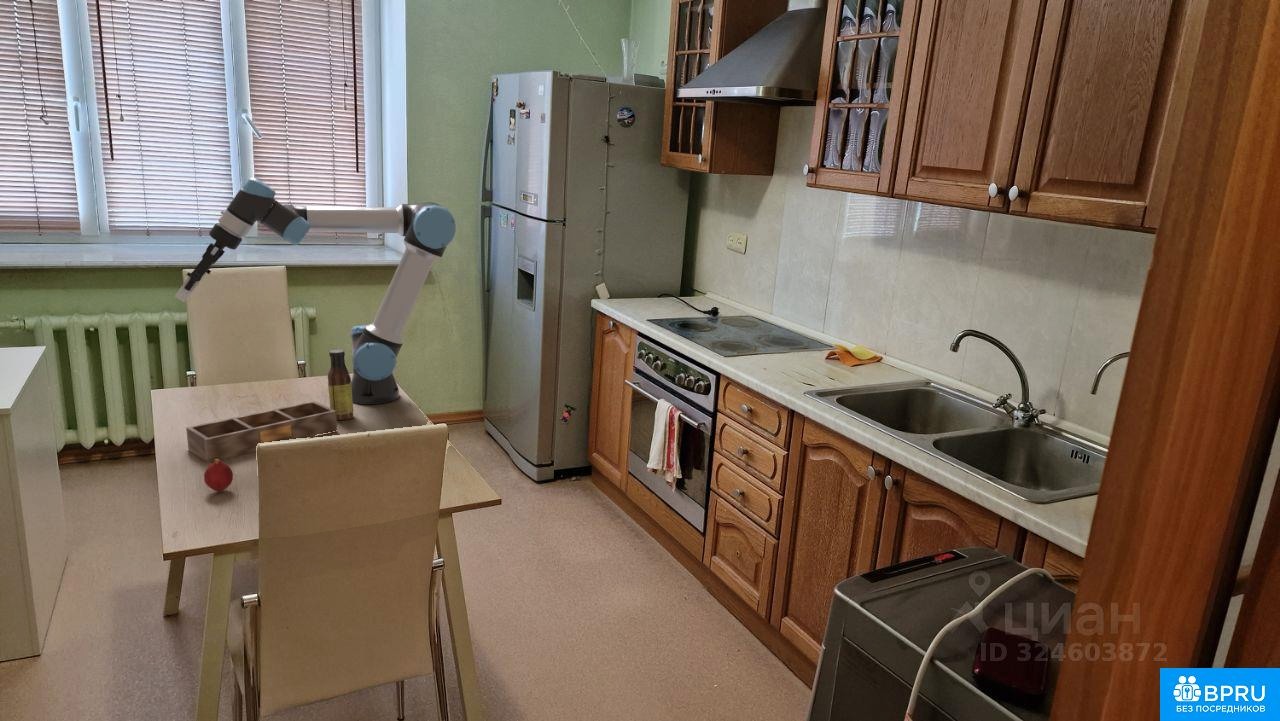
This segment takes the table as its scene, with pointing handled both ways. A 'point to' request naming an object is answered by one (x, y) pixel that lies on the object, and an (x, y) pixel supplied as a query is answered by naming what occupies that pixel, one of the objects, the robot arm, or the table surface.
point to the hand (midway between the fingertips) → (183, 294)
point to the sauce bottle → (340, 386)
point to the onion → (218, 476)
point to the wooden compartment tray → (259, 430)
